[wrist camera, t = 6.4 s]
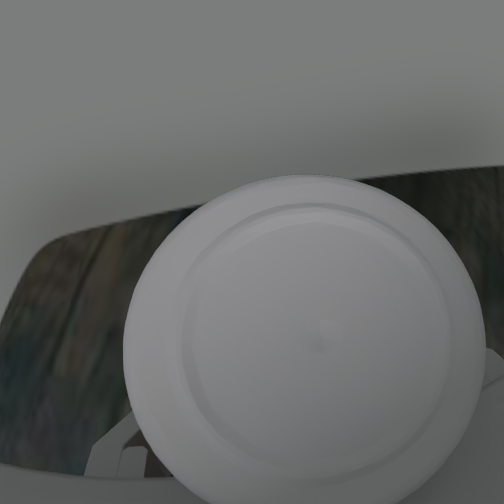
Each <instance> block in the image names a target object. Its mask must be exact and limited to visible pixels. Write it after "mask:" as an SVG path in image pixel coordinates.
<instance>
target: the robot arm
mask: <svg viewBox="0 0 504 504" xmlns="http://www.w3.org/2000/svg"><path fill="white" fill-rule="evenodd" d="M171 474H172V473H171V472H170V471H169V470H168V469H167V468H166V467H165V465H164V464H163V463H162V462H161V461H160V460H159V458H158V457H157V456H156V455H155V454H154V452H153V450H152V448H151V447H150V445H149V444H148V442H147V441H146V439H145V437H144V435H143V433H142V431H141V429H140V427H139V425H138V423H137V421H136V418H135V416H134V413H133V411H131V412H130V413H129V414H128V415H127V416H126V417H125V418H124V419H123V420H121V421H120V422H119V423H118V424H117V425H116V426H115V427H114V428H112V429H111V430H110V431H109V432H108V433H107V434H106V435H104V436H103V437H102V438H101V439H100V440H99V441H98V442H96V443H95V444H94V445H93V447H92V450H91V453H90V456H89V459H88V463H87V466H86V469H85V472H84V476H82V475H71V474H62V473H54V472H46V471H40V470H33V469H28V468H22V467H17V466H12V465H7V464H3V463H0V504H210V503H208V502H206V501H205V500H203V499H202V498H200V497H198V496H197V495H195V494H194V493H193V492H191V491H190V490H189V489H188V488H186V487H185V486H184V485H183V484H182V483H181V482H180V481H178V480H177V479H176V478H175V477H170V476H171ZM396 504H504V359H503V358H502V357H500V356H499V355H498V354H497V353H496V352H495V351H494V350H492V349H489V348H486V359H485V372H484V378H483V383H482V388H481V392H480V396H479V399H478V403H477V406H476V408H475V411H474V413H473V416H472V418H471V421H470V423H469V425H468V427H467V429H466V431H465V433H464V435H463V436H462V438H461V440H460V442H459V444H458V445H457V446H456V448H455V449H454V450H453V452H452V453H451V454H450V456H449V457H448V458H447V460H446V461H445V462H444V464H443V465H442V466H441V467H440V468H439V469H438V470H437V471H436V472H435V473H434V474H433V475H432V476H431V477H430V478H429V479H428V480H427V481H426V482H425V483H424V484H423V485H422V486H421V487H420V488H418V489H417V490H415V491H414V492H413V493H411V494H410V495H408V496H407V497H405V498H404V499H402V500H401V501H399V502H398V503H396Z"/></svg>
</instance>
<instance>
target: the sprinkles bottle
mask: <svg viewBox="0 0 504 504" xmlns="http://www.w3.org/2000/svg"><path fill="white" fill-rule="evenodd" d="M485 359H486V338H485V328H484V322H483V317H482V311H481V306H480V302H479V299H478V296H477V293H476V290H475V287H474V285H473V283H472V280H471V278H470V276H469V274H468V272H467V270H466V268H465V266H464V265H463V263H462V261H461V259H460V258H459V256H458V255H457V253H456V252H455V250H454V249H453V247H452V246H451V244H450V243H449V242H448V241H447V240H446V238H445V237H444V236H443V235H442V234H441V232H440V231H439V230H438V229H437V228H436V227H435V226H434V225H433V224H432V223H431V222H429V221H428V220H427V219H426V218H425V217H424V216H422V215H421V214H420V213H419V212H417V211H416V210H414V209H413V208H412V207H410V206H409V205H407V204H406V203H404V202H402V201H401V200H399V199H398V198H396V197H394V196H392V195H390V194H388V193H386V192H385V191H383V190H381V189H378V188H375V187H372V186H370V185H367V184H364V183H361V182H357V181H354V180H351V179H346V178H341V177H335V176H329V175H320V174H296V175H285V176H276V177H271V178H267V179H263V180H258V181H255V182H252V183H249V184H245V185H242V186H240V187H237V188H235V189H232V190H230V191H228V192H226V193H224V194H222V195H220V196H218V197H216V198H214V199H212V200H211V201H209V202H208V203H206V204H205V205H203V206H202V207H200V208H199V209H197V210H196V211H194V212H193V213H192V214H191V215H189V216H188V217H187V218H186V219H185V220H183V221H182V222H181V223H180V224H179V225H178V226H177V227H176V228H175V229H174V230H173V231H172V232H171V233H170V234H169V235H168V236H167V237H166V239H165V240H164V241H163V242H162V244H161V245H160V246H159V247H158V249H157V250H156V251H155V253H154V254H153V256H152V258H151V259H150V261H149V262H148V264H147V265H146V267H145V269H144V271H143V273H142V275H141V277H140V279H139V281H138V283H137V285H136V287H135V290H134V293H133V296H132V300H131V303H130V306H129V310H128V315H127V319H126V323H125V330H124V339H123V365H124V375H125V381H126V387H127V391H128V396H129V400H130V404H131V407H132V410H133V413H134V416H135V418H136V421H137V423H138V425H139V427H140V429H141V431H142V433H143V435H144V437H145V439H146V441H147V442H148V444H149V445H150V447H151V448H152V450H153V452H154V454H155V455H156V456H157V457H158V458H159V460H160V461H161V462H162V463H163V464H164V465H165V467H166V468H167V469H168V470H169V471H170V472H171V473H172V474H173V476H174V477H175V478H176V479H177V480H178V481H180V482H181V483H182V484H183V485H184V486H185V487H186V488H188V489H189V490H190V491H191V492H193V493H194V494H195V495H197V496H198V497H200V498H202V499H203V500H205V501H206V502H208V503H210V504H396V503H398V502H399V501H401V500H402V499H404V498H405V497H407V496H408V495H410V494H411V493H413V492H414V491H415V490H417V489H418V488H420V487H421V486H422V485H423V484H424V483H425V482H426V481H427V480H428V479H429V478H430V477H431V476H432V475H433V474H434V473H435V472H436V471H437V470H438V469H439V468H440V467H441V466H442V465H443V464H444V462H445V461H446V460H447V458H448V457H449V456H450V454H451V453H452V452H453V450H454V449H455V448H456V446H457V445H458V444H459V442H460V440H461V438H462V436H463V435H464V433H465V431H466V429H467V427H468V425H469V423H470V421H471V418H472V416H473V413H474V411H475V408H476V406H477V403H478V399H479V396H480V392H481V388H482V383H483V378H484V372H485Z"/></svg>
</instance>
